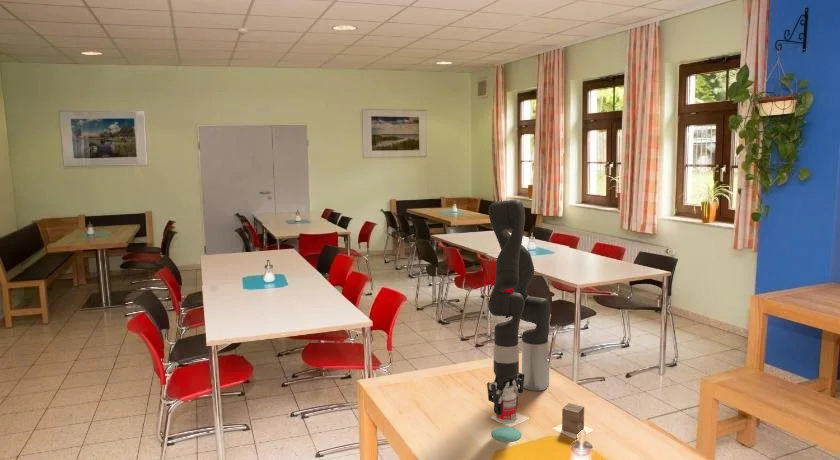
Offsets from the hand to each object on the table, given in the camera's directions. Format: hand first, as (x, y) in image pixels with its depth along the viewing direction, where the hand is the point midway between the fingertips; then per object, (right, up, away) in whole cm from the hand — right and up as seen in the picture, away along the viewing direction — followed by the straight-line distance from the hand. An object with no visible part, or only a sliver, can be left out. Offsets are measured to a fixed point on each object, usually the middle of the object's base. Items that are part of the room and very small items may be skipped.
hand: (505, 410), depth 180 cm
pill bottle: (0, -3, 0) cm, 3 cm away
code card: (+3, -6, +12) cm, 14 cm away
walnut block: (+21, -7, +3) cm, 23 cm away
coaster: (0, -8, +1) cm, 8 cm away
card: (+21, -7, +4) cm, 23 cm away
